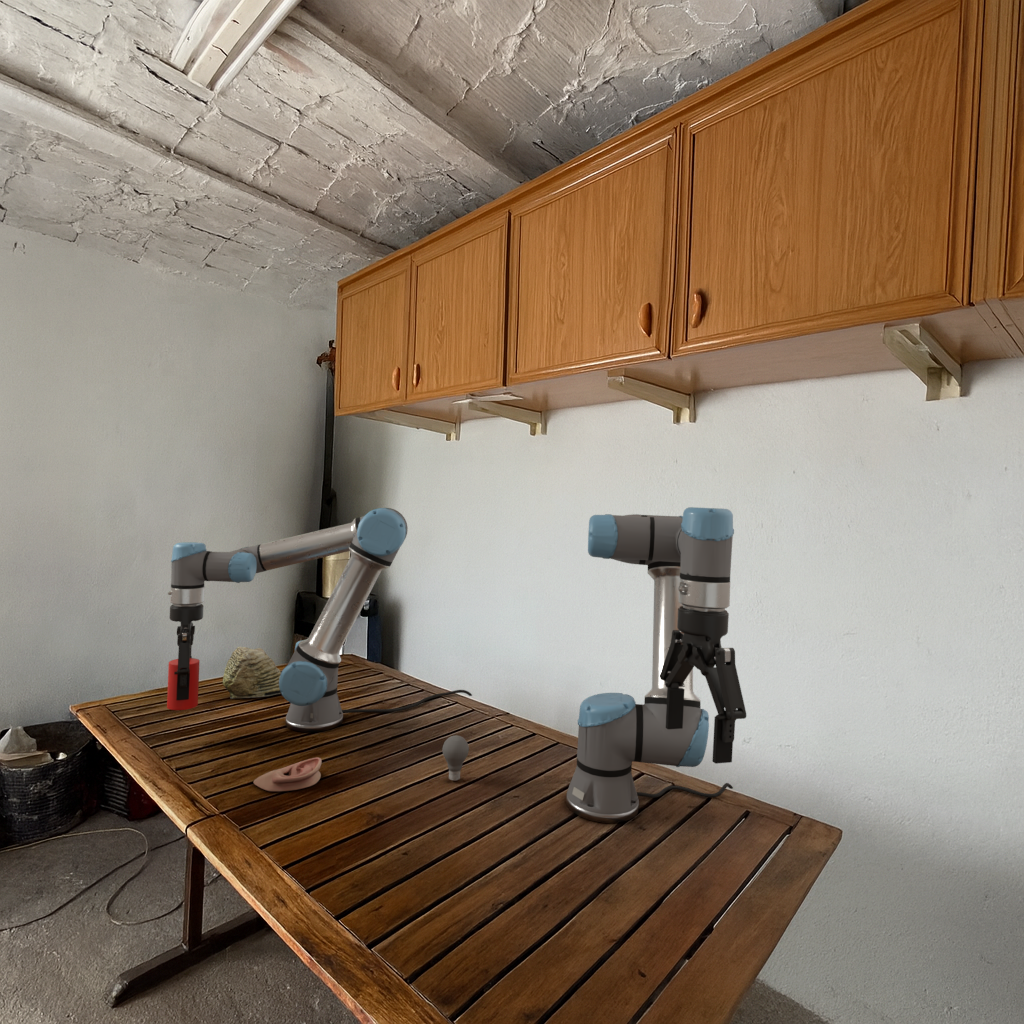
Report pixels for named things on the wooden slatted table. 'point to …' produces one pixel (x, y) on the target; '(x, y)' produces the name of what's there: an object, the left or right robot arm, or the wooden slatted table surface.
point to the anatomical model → (291, 776)
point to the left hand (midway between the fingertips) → (183, 694)
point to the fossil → (251, 674)
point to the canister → (193, 686)
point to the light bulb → (455, 755)
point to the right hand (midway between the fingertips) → (696, 744)
